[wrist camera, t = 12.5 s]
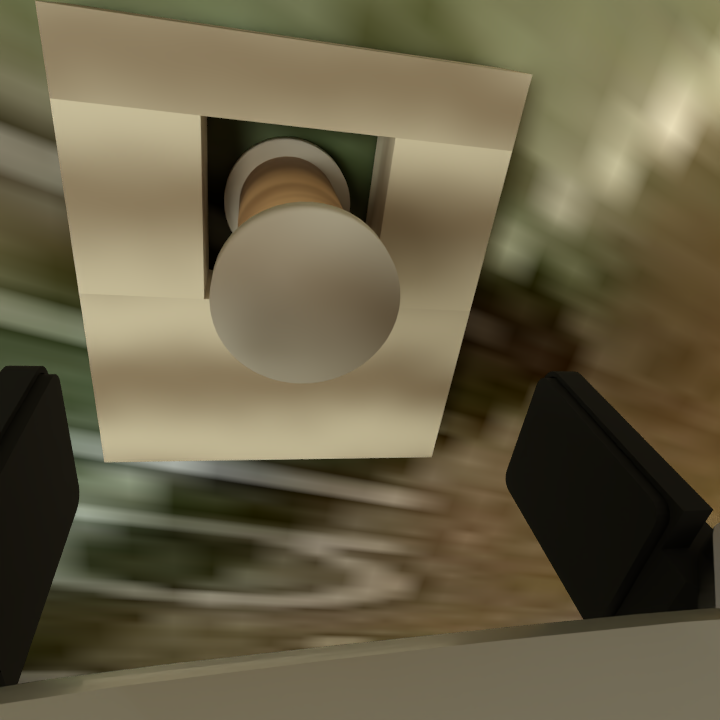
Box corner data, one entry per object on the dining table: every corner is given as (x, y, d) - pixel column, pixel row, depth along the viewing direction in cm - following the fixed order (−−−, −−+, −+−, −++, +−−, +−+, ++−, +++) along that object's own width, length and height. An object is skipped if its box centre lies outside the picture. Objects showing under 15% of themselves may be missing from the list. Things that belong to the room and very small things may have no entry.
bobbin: (340, 262, 25) (384, 384, 17) (224, 254, 24) (210, 382, 16) (354, 143, 22) (415, 219, 14) (224, 129, 21) (207, 202, 13)
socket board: (417, 421, 31) (431, 456, 28) (118, 421, 28) (104, 462, 25) (499, 67, 22) (532, 74, 19) (64, 3, 18) (35, 0, 16)
